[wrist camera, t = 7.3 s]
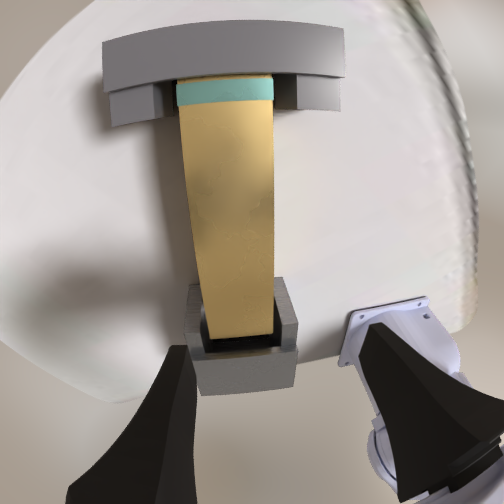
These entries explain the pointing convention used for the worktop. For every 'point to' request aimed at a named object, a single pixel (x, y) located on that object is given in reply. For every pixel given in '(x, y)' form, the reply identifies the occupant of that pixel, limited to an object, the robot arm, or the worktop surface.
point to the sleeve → (243, 350)
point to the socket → (223, 63)
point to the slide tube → (231, 197)
